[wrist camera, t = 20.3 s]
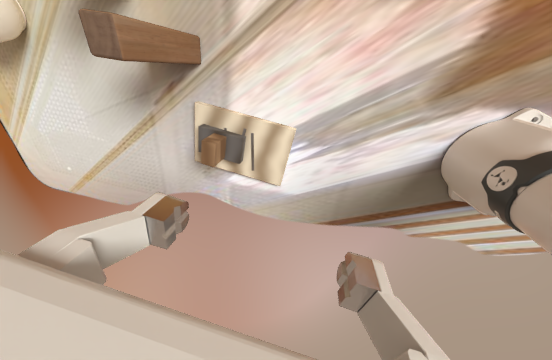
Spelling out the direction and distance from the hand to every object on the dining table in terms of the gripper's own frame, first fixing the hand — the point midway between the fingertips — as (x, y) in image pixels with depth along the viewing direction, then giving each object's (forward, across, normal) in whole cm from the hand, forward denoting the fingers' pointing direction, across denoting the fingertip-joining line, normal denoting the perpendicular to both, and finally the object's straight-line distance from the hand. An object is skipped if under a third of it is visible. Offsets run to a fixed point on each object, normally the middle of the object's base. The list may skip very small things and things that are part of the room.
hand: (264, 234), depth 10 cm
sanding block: (+32, +16, +11) cm, 38 cm away
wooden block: (+34, +27, -5) cm, 44 cm away
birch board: (+34, +12, +11) cm, 38 cm away
